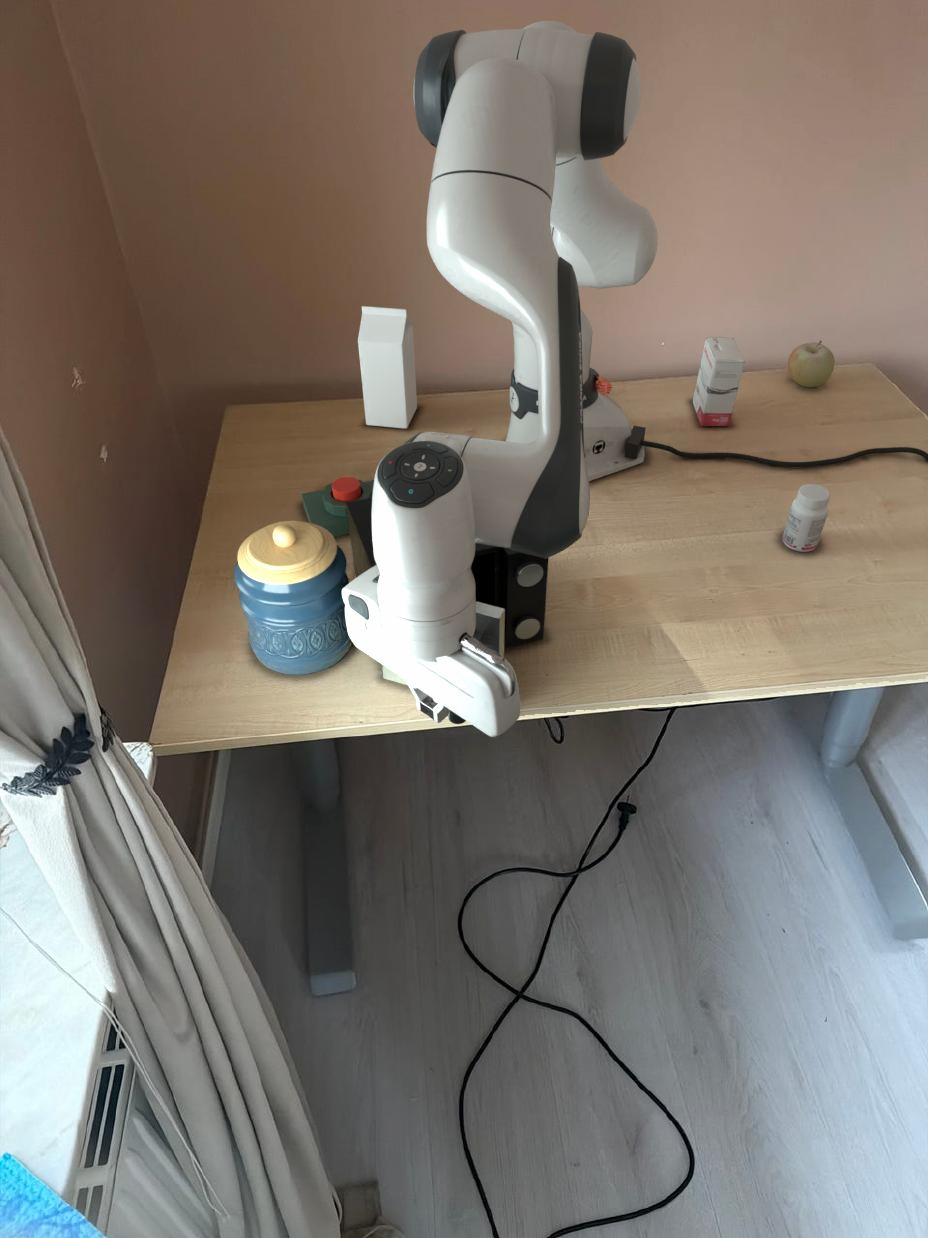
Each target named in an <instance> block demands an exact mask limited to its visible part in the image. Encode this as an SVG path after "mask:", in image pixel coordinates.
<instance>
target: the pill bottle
mask: <svg viewBox="0 0 928 1238" xmlns="http://www.w3.org/2000/svg"><path fill="white" fill-rule="evenodd" d="M830 497H831V493H830V491H829V490H828V489H827V488H826V487H825V486H822V485H820V484H816V483H807V484H803V485H801V486H800V487H799V488H798V491H797V495H796V498H794V500H793V501H792V503H791V505H790V509H789V513H788V516H787V520H786V524H785V527H784V531H783V534H782V542H783V544H784V546H786V547H787V548H789V549H790V550H793V551H796V552H799V553H806V552H807V553H808V552H813V551H814V550H815V549H816V548H817V547H818V545H819V542H820V540H821V536H822V535H823V530H824V528H825V524H826V522H827V521H826V520H827V518H828V514H829V505H828V504H829V501H830Z"/></svg>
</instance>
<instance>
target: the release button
mask: <svg viewBox="0 0 928 1238" xmlns="http://www.w3.org/2000/svg"><path fill="white" fill-rule="evenodd" d="M357 479H358V478H356V477H353V476H342V477H338V478H336V479H334V481H332V482H331V483H332V491H333V497H334V499H335V500H337V501H342V502H348V501H354V500H356V499H358V498H359V497H360V495H361V488H360V482H359V480H360V479H358V480H357Z"/></svg>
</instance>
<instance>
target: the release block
mask: <svg viewBox="0 0 928 1238" xmlns="http://www.w3.org/2000/svg"><path fill="white" fill-rule="evenodd" d="M356 479H357V480H359V482H360V488H361V495H360V497H359V498H358V499H356V500H354V501H357V500H362V499H367V498H372V496H373V486H374V479H372V480H365V481H363V480H361V479H358V478H356ZM332 483H333V482H330V483H329V484H327V485H326V486H325V487H324V489H320V490H314V491H308V492H304V493H303V492H302V493H301V500H302V505H303V510H304V512H305V516H306V518H307V520H308V521H307V522H308V523H313V524H316V525H319V526H321V527H323V528H325V529H326V530H328V531H329V532H330V533H331V534H332V535H333V537H334V538H337V537H341V536H347V535H350V530H349V522H348V514H347V506H346V503H347V502H342V501H337V500H335V499H334V497H333V491H332ZM348 502H352V501H348Z"/></svg>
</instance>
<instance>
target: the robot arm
mask: <svg viewBox="0 0 928 1238" xmlns="http://www.w3.org/2000/svg"><path fill="white" fill-rule="evenodd" d="M412 88H413V89H412V91H413V93H412V96H413V105H414V111H415V112H414V113H415V119H416V122H417V123H416V124H417V127H418V129H419V132H420V133H421V134H422V135H423V137H424V138H425V139H426V140H427V142H428V143H429V144H430V145H431V146H432V147H433V148H436V151H435V155H434V161H433V165H432V172H431V178H430V185H429V191H428V192H429V194H428V200H427V208H426V209H427V210H426V231H425V232H426V245H427V249H428V252H429V255H430V257H431V260H432V262H433V264H434V267H436V269H437V271H438V272H439V273H440V274H441V276H442V277H443V278H444V279H445V280H446V281H447V282H448V283H449V284H450V285H451V286H452V287H453V288H454V289H455V290H457V291H458V292H459V293H461V294H462V295H464V296H465V297H467V298H468V299H470V300H471V301H473V302H474V303H476V304H478V305H480V306H482V307H484V308H485V309H487V310H490V311H491V312H493V313H495V314H496V315H499V316H500V317H503V318H504V319H506V320H507V321H510V322H511V325H512V326H511V327H512V335H513V359H514V360H513V361H514V362H513V369H512V371H511V374H510V387H509V406H510V410H511V411H510V418H509V425H508V429H507V434H506V438H505V440H498V439H491V438H483V437H475V436H474V435H467V434H460V433H452V432H451V433H450V432H442V431H420V432H419V433H417V434H415V435H413V436H412V437H411V438H409V439H407V441H405V442H404V443H403V444H401V445H398V446H396V447H395V448H393V449H391V450H390V451H388V453H386V454H385V455H383V457H382V458H381V460H380V461H379V463H378V465H377V467H376V469H375V473H374V479H373V480H374V486H373V496H372V542H373V552H374V558H375V561H376V564H377V565H375V566H374V567H372V568H370V569H369V570H367V571H365V572H364V573H362V574H361V575H359V576H358V577H357V578H354V579H353V580H351V581H349V584H348V585H346V586H345V587H344V588H343V589H342V597H343V601H344V603H345V604H346V606H345V618H346V625H347V631H348V635H349V637H350V639H351V640H352V642H353V643H352V644H353V645H354V646H355V648H357V649H358V650H360V651H361V652H363V654H364V653H365V654H366V655H368V656H369V657H370V658H372V659H373V660H374V661H376V662H378V663H379V664H381V666H382V665H384V666H385V667H387V668H388V669H390V670H391V671H393V672H394V673H396V674H397V675H399V676H400V677H402V678H403V679H405V680H406V681H407V685H406V686H408V688H409V690H410V691H411V693H412V695H413V697H414V698H415V700H416V701H415V702H416V708H417V710H418V711H420V712H421V713H423V714H425V715H426V716H427V717H429V718H430V719H432V720H433V722H434V721H435V723H438V724H440V723H442V721H444V720H445V719H446V718H448V714H449V710H451V711H452V712H454V713H455V714H457V715H458V716H460V717H461V718H463V719H464V720H466V721H465V722H467V723H469V724H470V725H472V726H473V727H475V728H476V729H478V730H479V731H481V732H482V733H484V734H485V735H486V736H488V737H490V738H496V737H499V736H501V735H502V734H504V733H505V732H507V731H508V730H509V729H511V727H512V726H514V724H515V723H516V722H517V721H518V720H519V719H520V717H521V698H520V688H519V683H518V677H517V674H516V672H515V671H516V670H515V669H514V667H513V665H512V664H511V663H510V662H509V661H508V660H507V659H506V658H505V656H504V657H503V656H502V655H501V654H500V653H498V652H496V651H494V650H491V649H489V648H488V647H486V646H485V645H484V644H482V643H481V642H480V641H478V640H477V639H475V638H473V637H472V636H473V634H474V632H475V628H476V585H475V579H474V576H473V573H472V571H471V565H472V562H473V559H474V556H475V543H477V544H483V545H490V546H497V547H504V548H511V550H513V551H517V552H521V553H525V554H529V555H533V556H537V557H541V558H545V559H546V558H549V559H550V558H551V557H553V556H556V555H557V554H560V553H561V552H563V551H565V550H567V549H568V548H570V547H571V546H572V545H574V544H575V543H576V542H578V540H580V539H581V538H582V536H583V532H584V530H585V528H586V525H587V522H588V519H589V515H590V508H591V487H590V482H591V481H595V480H597V479H600V478H603V477H605V476H608V475H611V474H614V473H618V472H621V471H623V470H626V469H629V468H632V467H634V466H637V465H640V464H642V463H644V461H645V447H648V448H651V449H657V450H662V451H666V452H669V453H672V454H673V455H675V456H677V457H680V458H685V459H686V458H687V459H695V460H697V459H699V460H700V459H701V460H702V459H703V460H704V459H735V460H742V461H748V462H752V463H757V464H763V465H766V466H772V467H781V468H813V467H823V466H828V465H829V466H830V465H837V464H842V463H846V462H850V461H853V460H856V459H858V458H861V457H864V456H871V455H877V454H878V455H879V454H895V453H896V454H897V453H904V454H905V453H907V454H914V455H918V456H919V457H922V458H924V460H926V461H927V462H928V452H926V451H925V450H922V449H919V448H916V447H910V446H894V447H893V446H891V447H874V448H868V449H867V448H866V449H864V450H859V451H856V452H854V453H851V454H849V455H845V456H841V457H835V458H828V459H820V460H812V461H782V460H774V459H768V458H764V457H760V456H755V455H750V454H745V453H736V452H687V451H683V450H682V451H681V450H679V449H677V448H675V447H673V446H670V445H667V444H663V443H659V442H654V441H648V440H645V435H646V427H645V426H640V425H633V426H632V424H631V421H630V418H629V416H628V415H627V414H626V412H625V410H624V409H623V408H622V407H621V406H620V405H619V403H618V402H616V400H614V399H613V398H611V397H610V396H609V394H610V393H611V392H612V389H613V385H612V383H611V382H610V381H608V378H606V377H600V374H599V372H598V371H596V369H594V368H592V367H591V354H592V345H593V344H592V343H593V327H592V324H591V322H590V320H589V318H588V316H587V314H586V313H585V312H584V311H583V310H582V309H581V299H580V298H581V297H580V291H579V287H581V288H589V289H599V290H600V289H611V288H612V289H613V288H621V287H629V286H635V285H636V284H638V283H639V282H640V281H641V280H643V279H644V277H645V276H646V275H647V274H648V272H649V271H650V270H651V268H652V266H653V264H654V262H655V259H656V256H657V251H658V246H659V245H658V244H659V241H658V240H659V236H658V230H657V225H656V222H655V220H654V219H653V216H652V215H651V213H650V211H649V210H648V209H647V208H646V207H645V206H643V205H641V204H639V203H638V202H635V201H634V200H632V198H631V199H630V197H628V196H627V195H626V194H625V193H623V192H622V191H621V190H620V189H619V188H618V187H617V186H616V185H615V184H614V182H613V181H612V179H611V178H610V177H609V175H608V174H607V171H606V170H605V167H604V166H603V161H602V159H604V158H608V157H612V156H614V155H615V154H616V153H617V152H618V151H619V150H620V149H622V147H624V146H625V144H626V143H627V141H628V138H629V135H630V134H631V132H632V130H633V127H634V125H635V123H636V120H637V118H638V114H639V110H640V107H641V100H642V82H641V75H640V71H639V68H638V64H637V55H636V52H635V51H634V50H633V48H632V47H631V46H630V45H629V43H628V42H627V41H626V40H625V39H623V38H622V37H619V36H617V35H612V34H610V33H606V32H601V31H596V32H594V34H588V33H582V32H579V31H576V30H575V29H574V28H573V27H571V26H569V25H568V24H566V23H563V22H560V21H557V20H556V21H555V20H541V21H537V22H533V23H531V24H527V25H526V26H524V27H523V28H509V29H508V28H506V29H493V30H483V31H482V30H481V31H475V32H468V33H467V31H466V30H465V29H459V30H453V31H452V30H451V31H447V32H444V33H441V34H438V35H435V36H433V37H432V38H431V39H430V40H429V42H428V43H427V44H426V45H425V46H424V47H423V49H422V50H421V52H420V53H419V56H418V59H417V62H416V69H415V74H414V79H413V87H412Z"/></svg>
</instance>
